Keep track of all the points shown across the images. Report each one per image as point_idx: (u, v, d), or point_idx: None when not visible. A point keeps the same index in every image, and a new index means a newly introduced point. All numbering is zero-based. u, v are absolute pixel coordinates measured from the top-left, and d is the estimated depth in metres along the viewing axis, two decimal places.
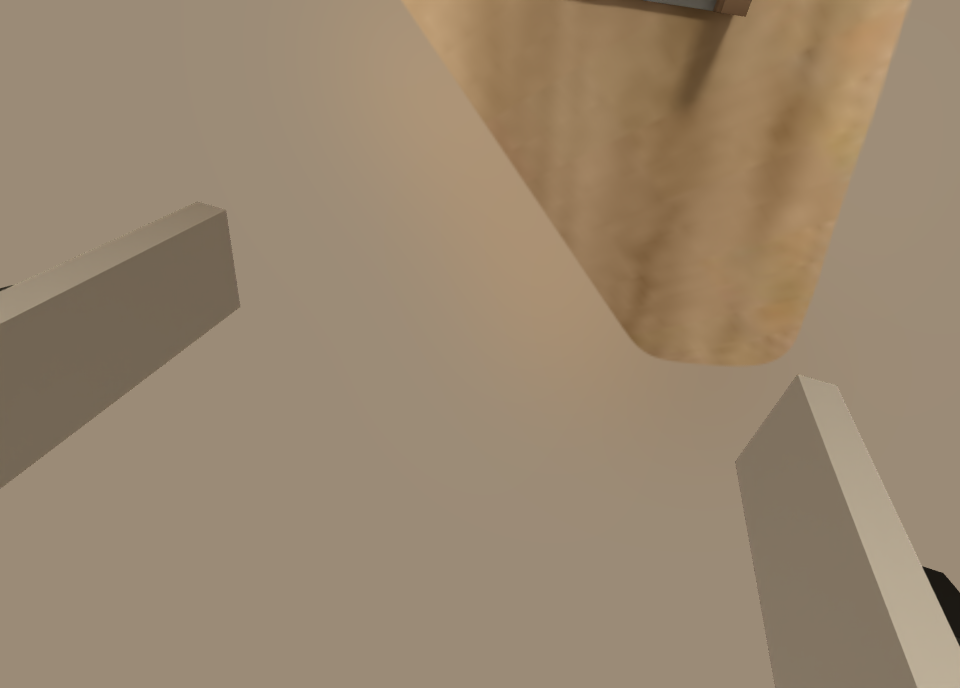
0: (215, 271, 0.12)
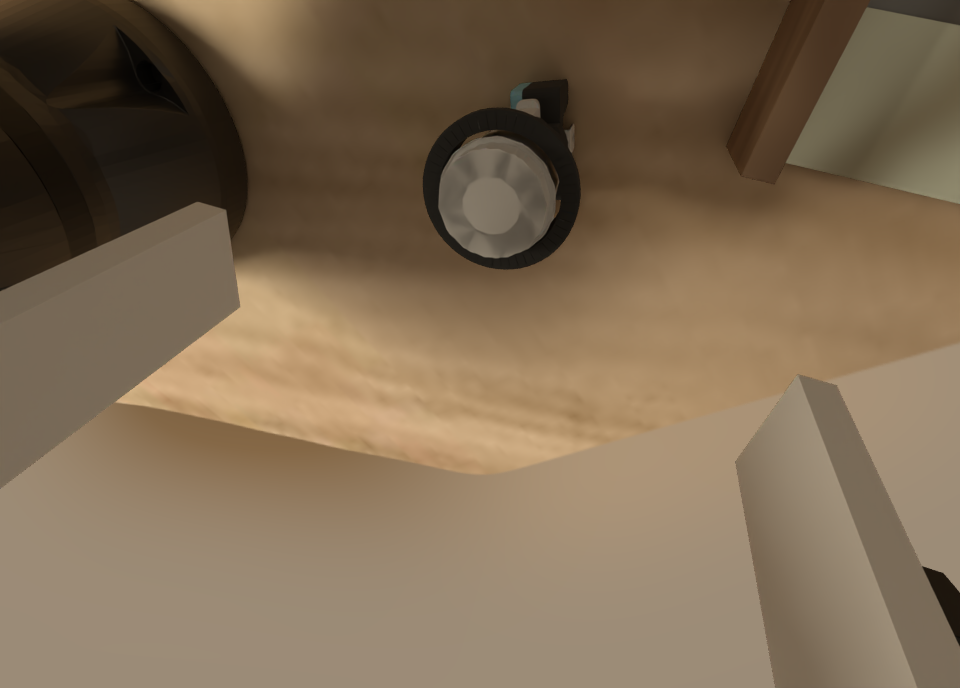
0: (215, 271, 0.12)
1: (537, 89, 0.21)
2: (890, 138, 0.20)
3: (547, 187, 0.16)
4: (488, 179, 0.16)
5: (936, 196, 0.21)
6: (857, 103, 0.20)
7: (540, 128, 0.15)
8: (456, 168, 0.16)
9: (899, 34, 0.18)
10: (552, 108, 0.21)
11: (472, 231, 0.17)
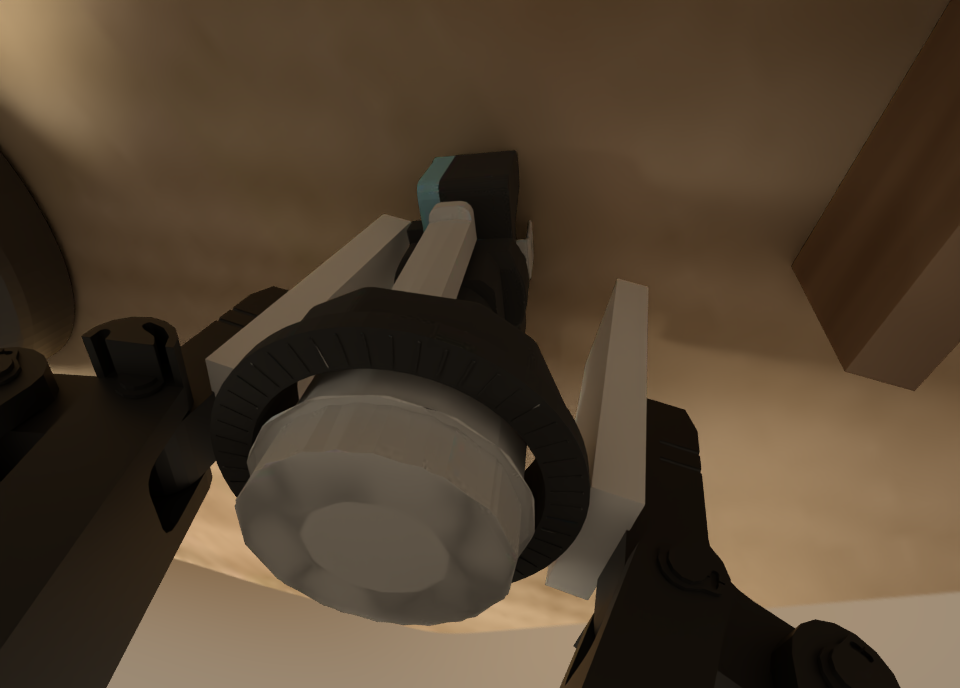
0: None
1: (466, 180, 0.11)
2: None
3: (513, 490, 0.06)
4: (358, 506, 0.06)
5: None
6: None
7: (486, 371, 0.06)
8: (268, 482, 0.06)
9: None
10: (496, 214, 0.11)
11: (338, 584, 0.07)
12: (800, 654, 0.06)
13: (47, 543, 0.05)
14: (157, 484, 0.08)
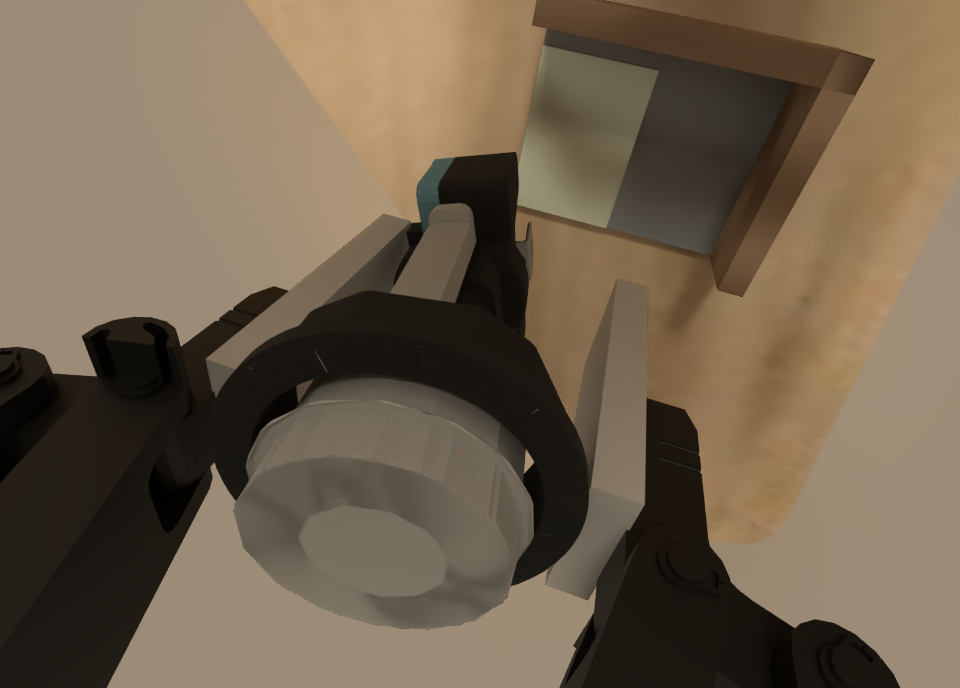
0: None
1: (466, 182, 0.11)
2: (560, 127, 0.26)
3: (512, 495, 0.06)
4: (357, 511, 0.06)
5: (518, 173, 0.28)
6: (586, 94, 0.25)
7: (485, 375, 0.06)
8: (267, 487, 0.06)
9: (634, 107, 0.25)
10: (496, 216, 0.11)
11: (337, 588, 0.07)
12: (800, 654, 0.06)
13: (48, 543, 0.05)
14: (157, 484, 0.08)
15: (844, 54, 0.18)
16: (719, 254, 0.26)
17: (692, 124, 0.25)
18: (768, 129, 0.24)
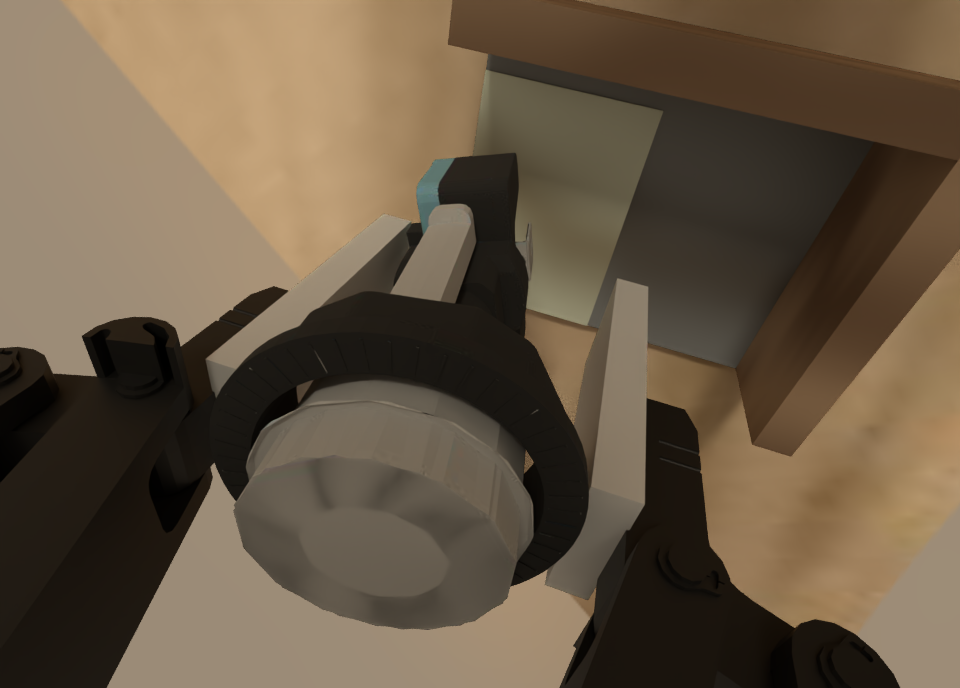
0: None
1: (466, 183, 0.11)
2: None
3: (511, 495, 0.06)
4: (357, 511, 0.06)
5: None
6: (554, 143, 0.17)
7: (485, 376, 0.06)
8: (267, 488, 0.06)
9: (625, 163, 0.16)
10: (496, 216, 0.11)
11: (337, 588, 0.07)
12: (799, 654, 0.06)
13: (48, 543, 0.05)
14: (157, 484, 0.08)
15: None
16: (752, 378, 0.18)
17: (714, 191, 0.16)
18: (833, 202, 0.15)
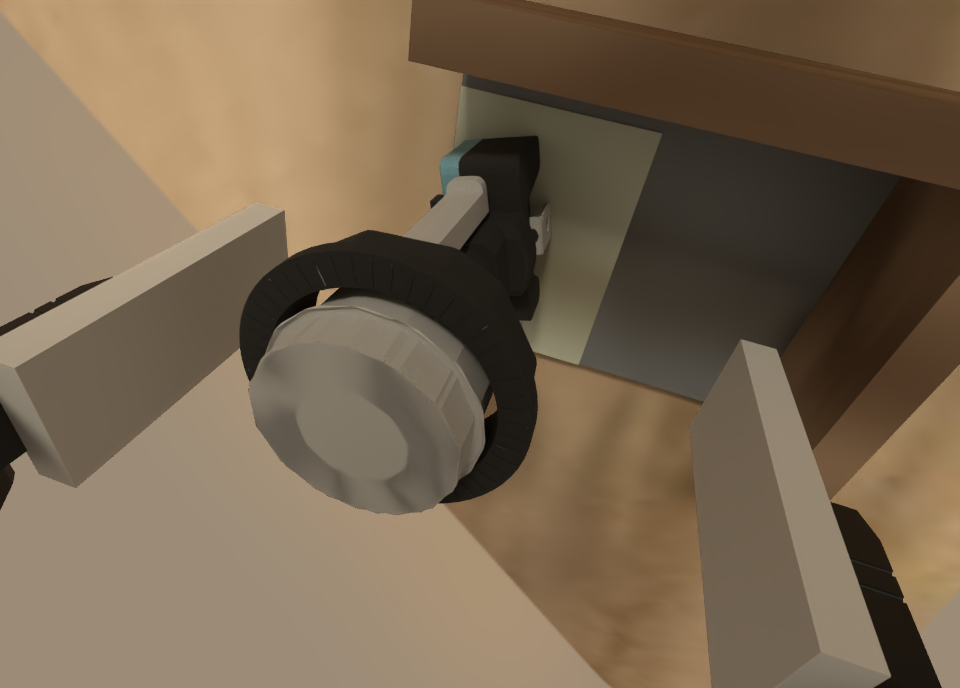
0: None
1: (483, 158, 0.12)
2: None
3: (466, 401, 0.08)
4: (337, 394, 0.07)
5: None
6: None
7: (444, 293, 0.07)
8: (272, 369, 0.07)
9: (619, 191, 0.14)
10: (508, 189, 0.13)
11: (325, 469, 0.08)
12: None
13: None
14: None
15: None
16: None
17: (720, 222, 0.14)
18: (856, 236, 0.13)
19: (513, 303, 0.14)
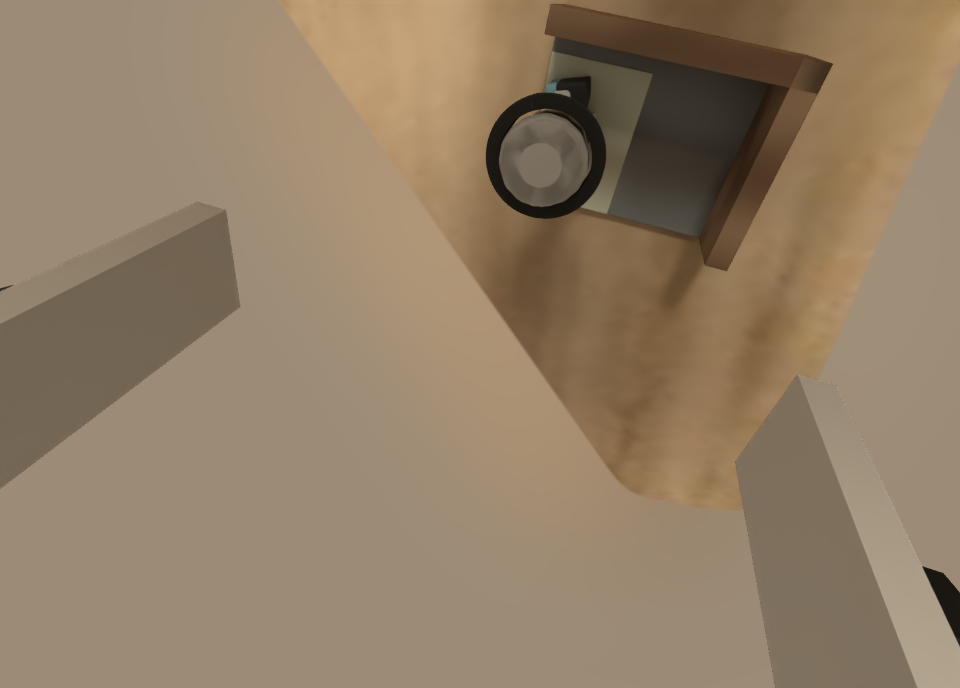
0: (215, 271, 0.12)
1: (568, 83, 0.26)
2: None
3: (582, 151, 0.22)
4: (539, 144, 0.21)
5: None
6: None
7: (578, 107, 0.21)
8: (515, 136, 0.21)
9: (631, 105, 0.28)
10: (580, 98, 0.26)
11: (524, 185, 0.22)
12: None
13: None
14: None
15: (807, 59, 0.22)
16: (707, 235, 0.29)
17: (682, 120, 0.28)
18: (748, 124, 0.27)
19: None
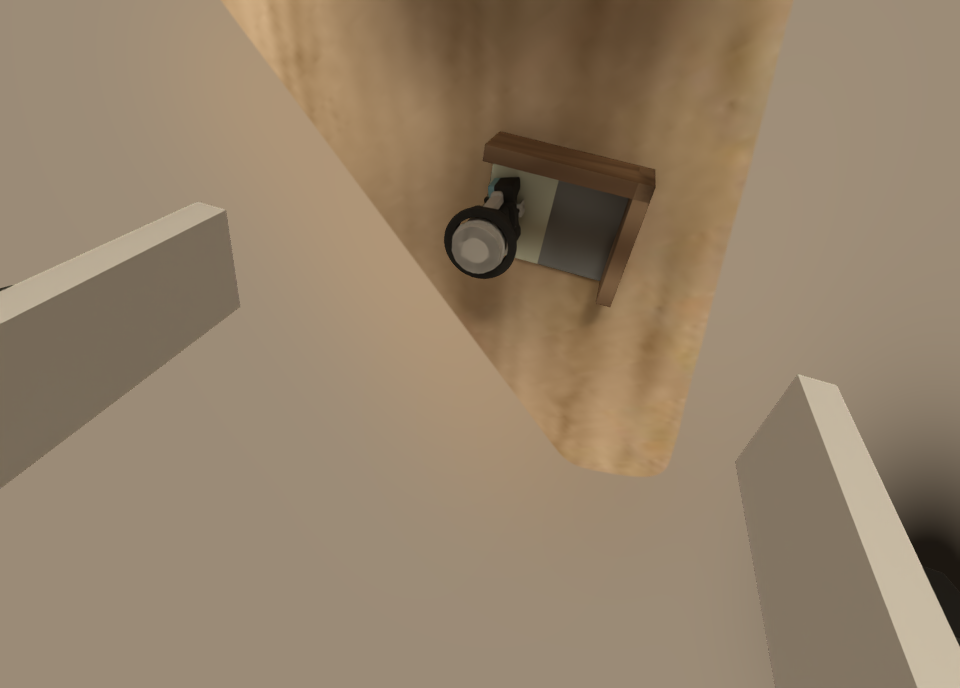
0: (215, 271, 0.12)
1: (501, 185, 0.40)
2: None
3: (501, 242, 0.35)
4: (474, 239, 0.35)
5: None
6: (520, 187, 0.42)
7: (497, 217, 0.35)
8: (460, 234, 0.35)
9: (547, 195, 0.42)
10: (509, 195, 0.40)
11: (467, 261, 0.36)
12: None
13: None
14: None
15: (640, 184, 0.36)
16: (601, 281, 0.43)
17: (581, 206, 0.42)
18: (623, 210, 0.41)
19: None
